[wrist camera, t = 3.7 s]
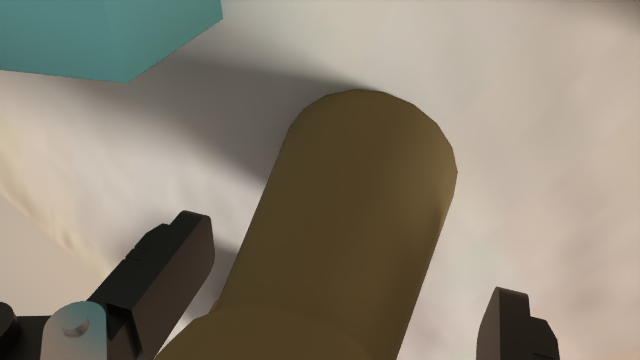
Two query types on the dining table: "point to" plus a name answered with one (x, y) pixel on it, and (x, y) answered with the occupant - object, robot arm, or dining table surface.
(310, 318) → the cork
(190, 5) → the deep teal block
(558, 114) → the dining table surface
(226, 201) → the dining table surface
